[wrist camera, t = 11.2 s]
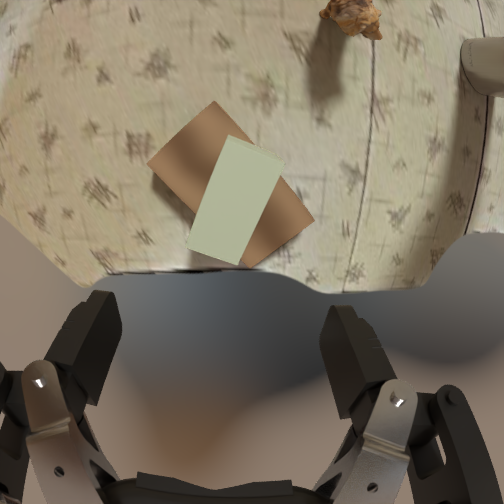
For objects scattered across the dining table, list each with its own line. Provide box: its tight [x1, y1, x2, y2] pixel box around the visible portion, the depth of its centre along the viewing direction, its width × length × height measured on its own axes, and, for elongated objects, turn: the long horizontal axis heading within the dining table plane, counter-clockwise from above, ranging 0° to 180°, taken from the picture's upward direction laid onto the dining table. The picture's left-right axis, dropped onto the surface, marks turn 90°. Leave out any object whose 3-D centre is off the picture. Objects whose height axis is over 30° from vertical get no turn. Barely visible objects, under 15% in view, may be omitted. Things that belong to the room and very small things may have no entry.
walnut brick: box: [147, 101, 315, 268], centre depth 29 cm, size 9×16×4 cm, turn 40°
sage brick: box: [185, 135, 285, 265], centre depth 25 cm, size 5×10×5 cm, turn 157°
